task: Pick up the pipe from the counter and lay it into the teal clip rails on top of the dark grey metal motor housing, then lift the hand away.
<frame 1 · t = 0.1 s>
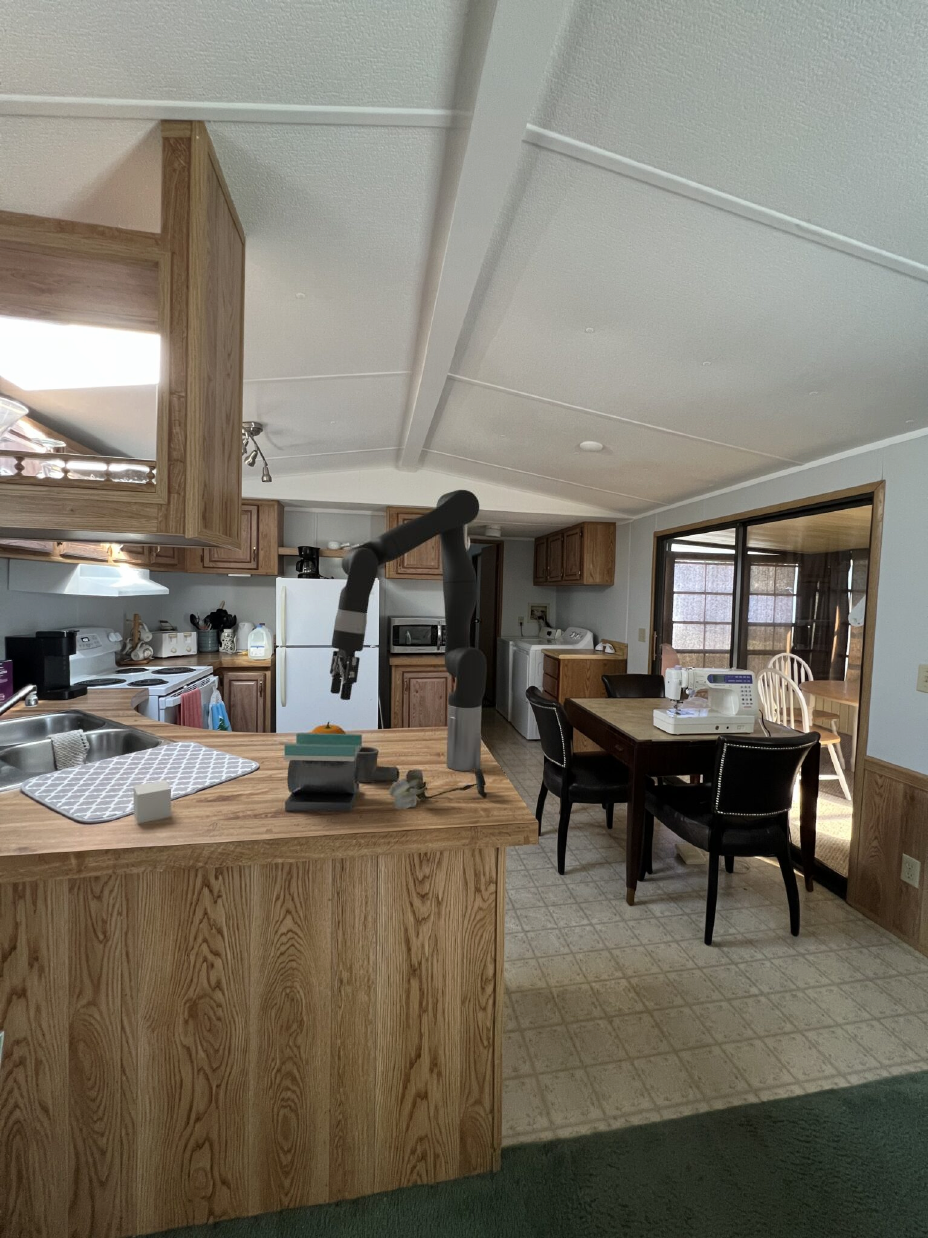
hand: (339, 696, 129), 22 cm above the countertop, tool pointing down, fingers open, 8 cm apart
pipe: (373, 782, 135), on the countertop
motor: (323, 800, 122), on the countertop
fruit: (327, 756, 154), on the countertop
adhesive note: (152, 816, 112), on the countertop
artificial flower: (439, 802, 124), on the countertop
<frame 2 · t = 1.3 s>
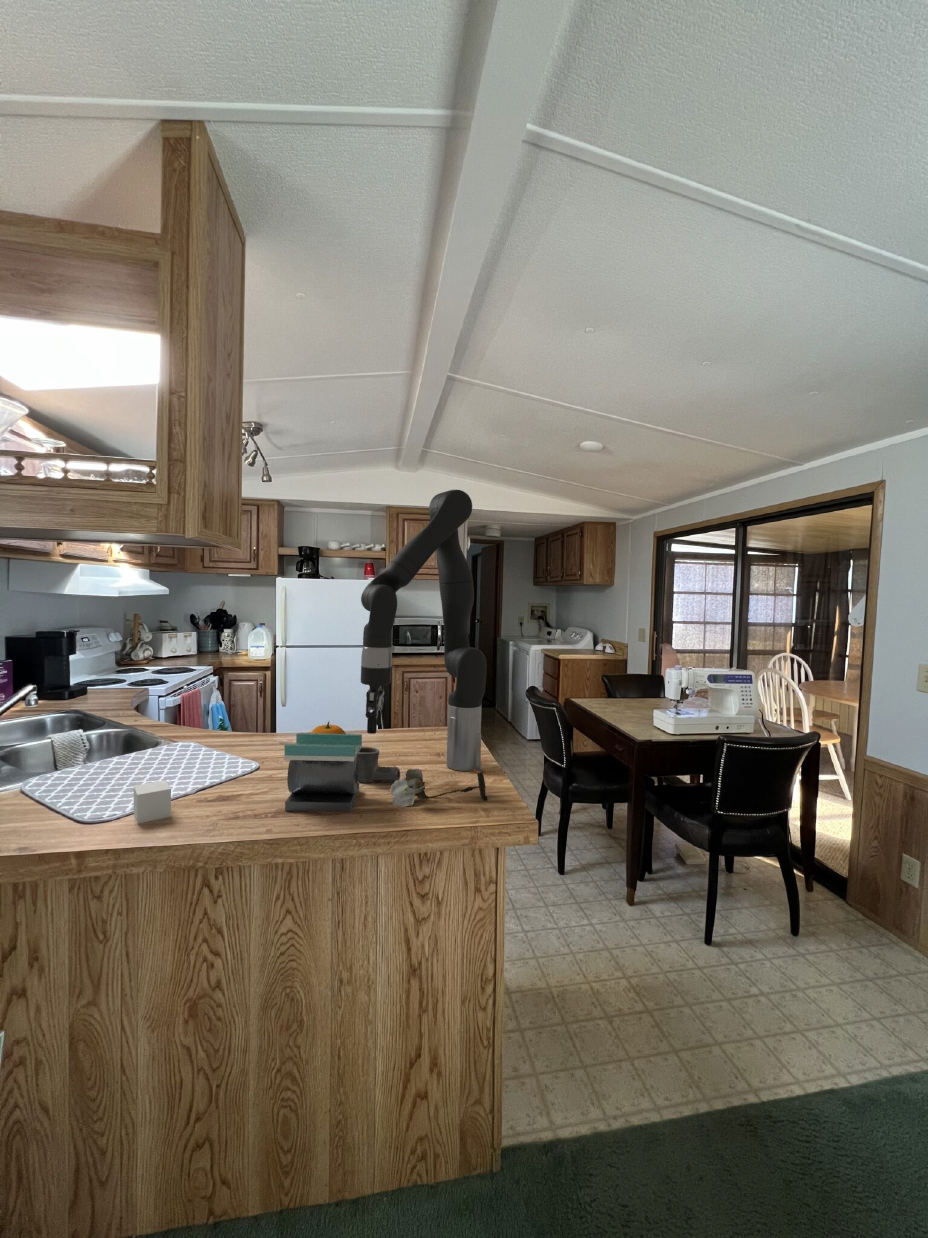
hand: (374, 729, 134), 13 cm above the countertop, tool pointing down, fingers open, 8 cm apart
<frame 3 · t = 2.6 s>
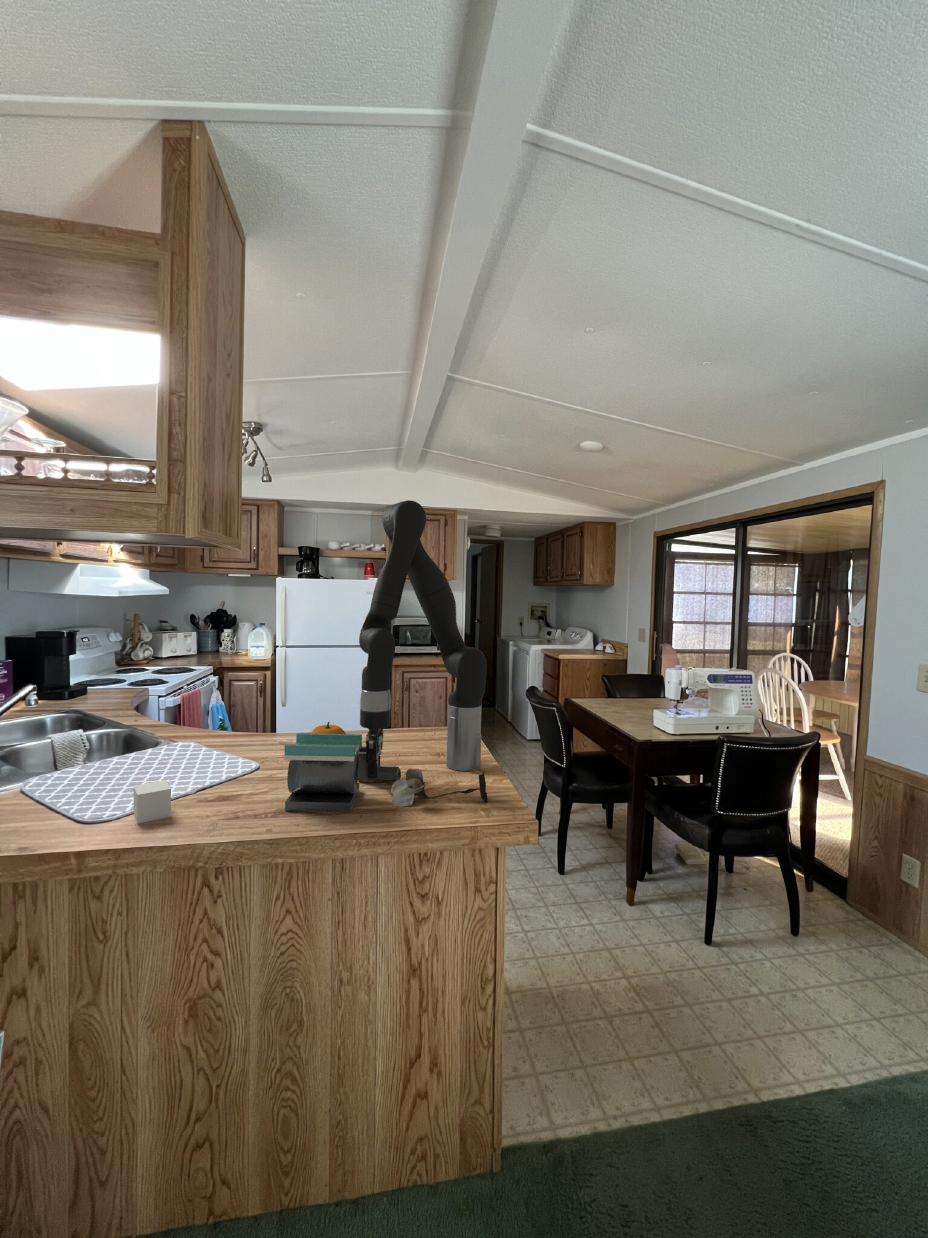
hand: (374, 773, 135), 2 cm above the countertop, tool pointing down, fingers closed on pipe, 5 cm apart
pipe: (375, 782, 135), on the countertop, touching gripper
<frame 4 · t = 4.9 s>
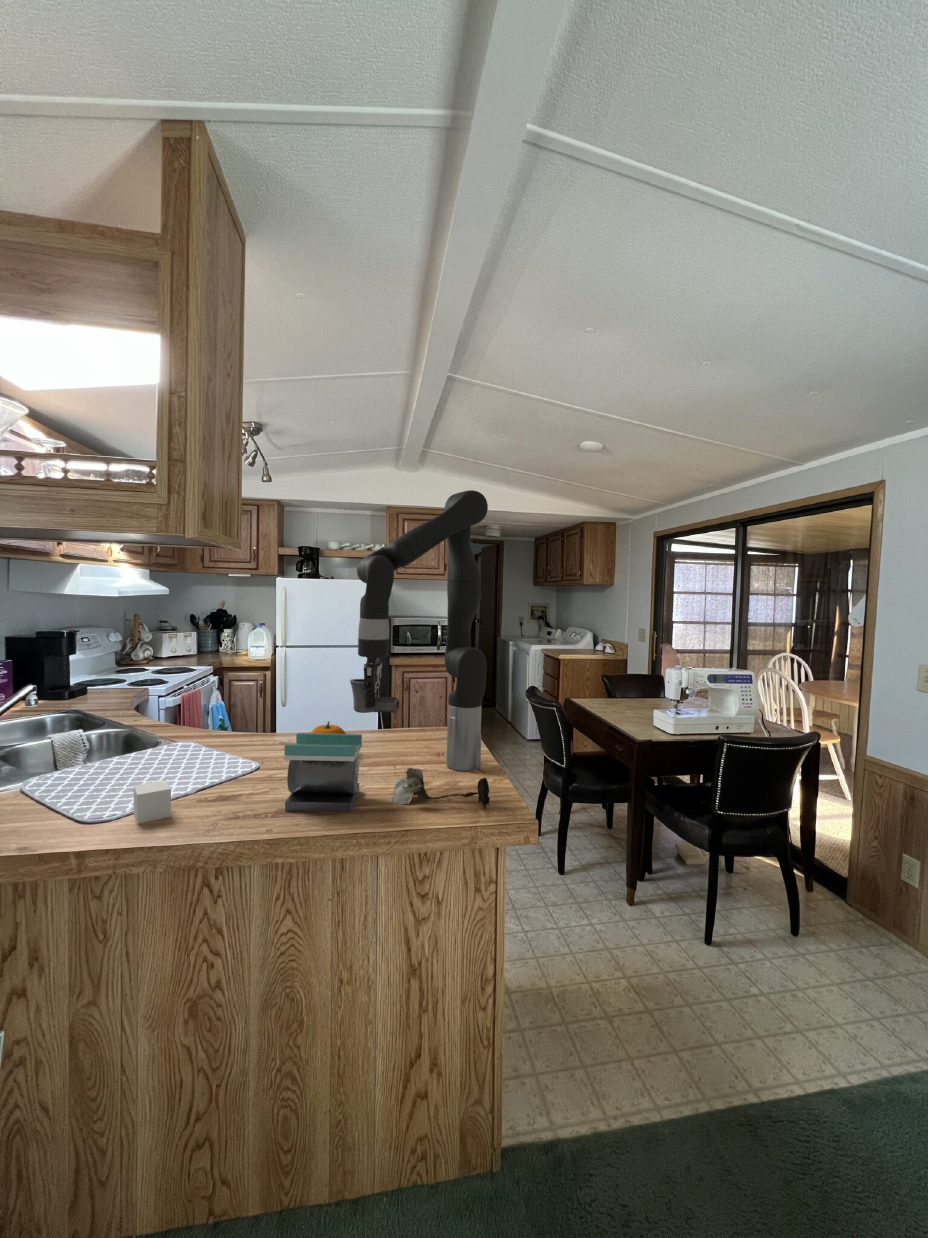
hand: (372, 704, 133), 20 cm above the countertop, tool pointing down, fingers closed on pipe, 5 cm apart
pipe: (373, 713, 133), point 17 cm above the countertop, touching gripper
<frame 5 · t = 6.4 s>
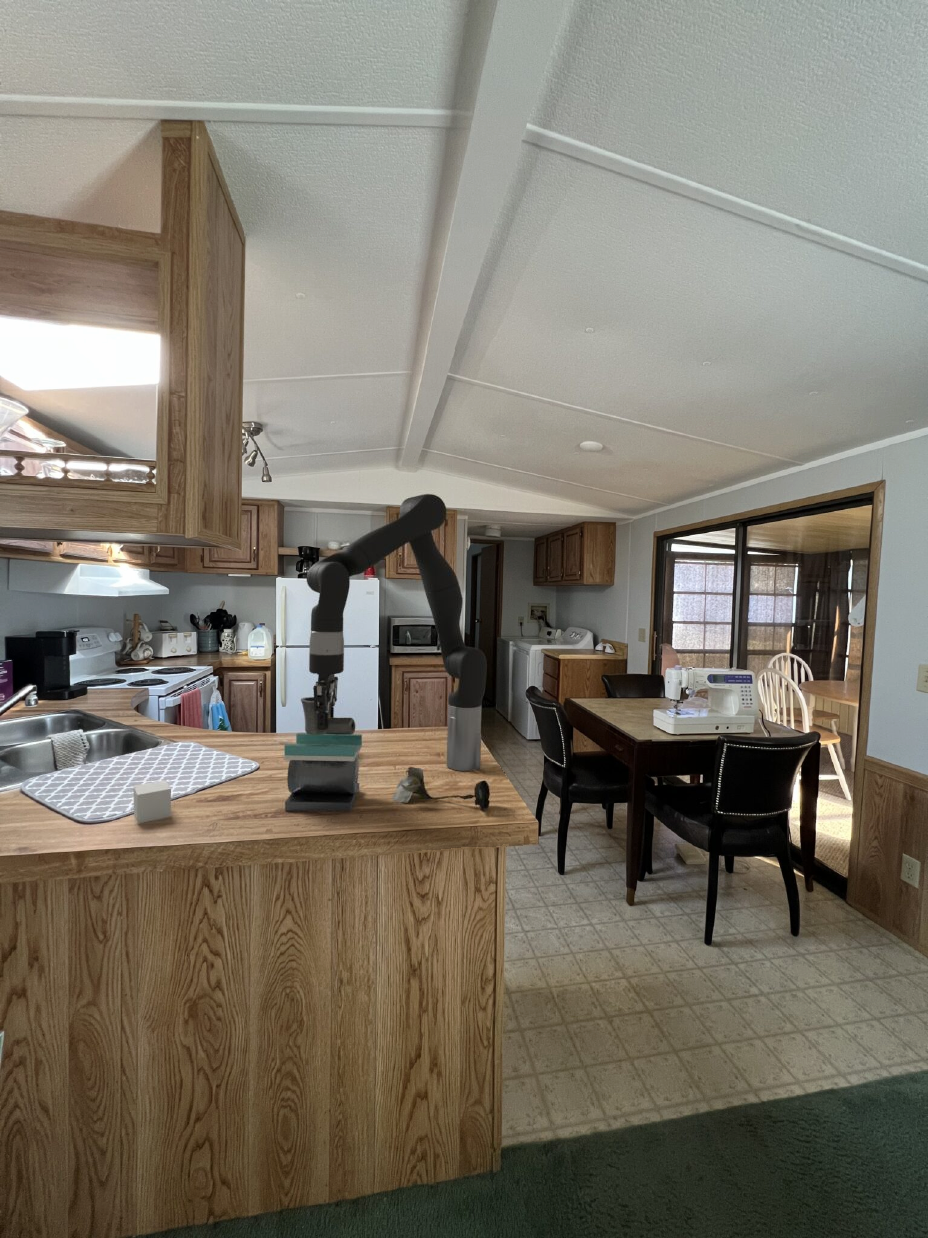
hand: (325, 725, 121), 17 cm above the countertop, tool pointing down, fingers closed on pipe, 5 cm apart
pipe: (326, 735, 121), point 15 cm above the countertop, touching gripper
when the fingers open (15 cm above the countertop, at t = 7.2 s): pipe drops 1 cm, resting on motor.
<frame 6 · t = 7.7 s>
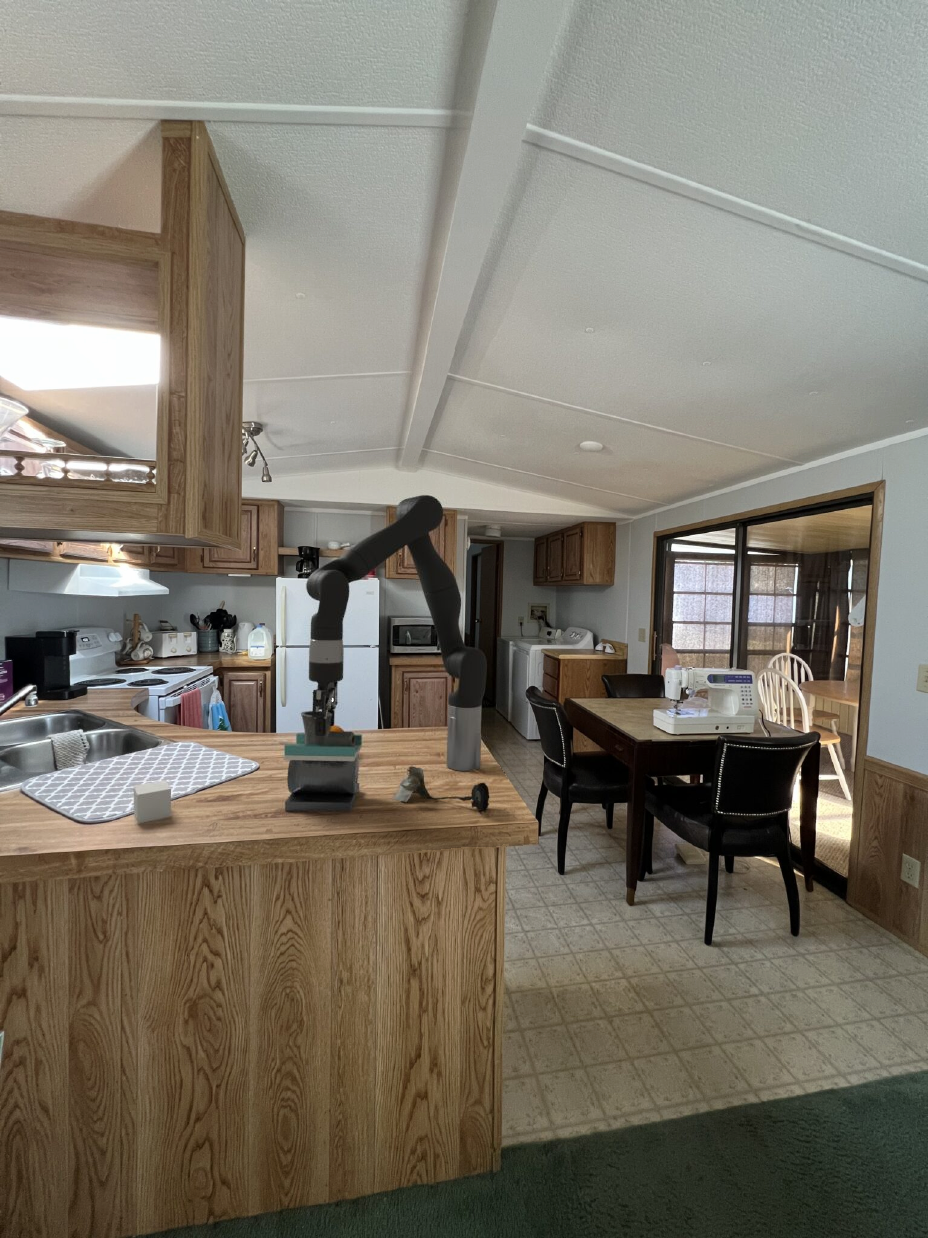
hand: (325, 730, 121), 16 cm above the countertop, tool pointing down, fingers open, 8 cm apart
pipe: (326, 749, 121), point 12 cm above the countertop, touching motor
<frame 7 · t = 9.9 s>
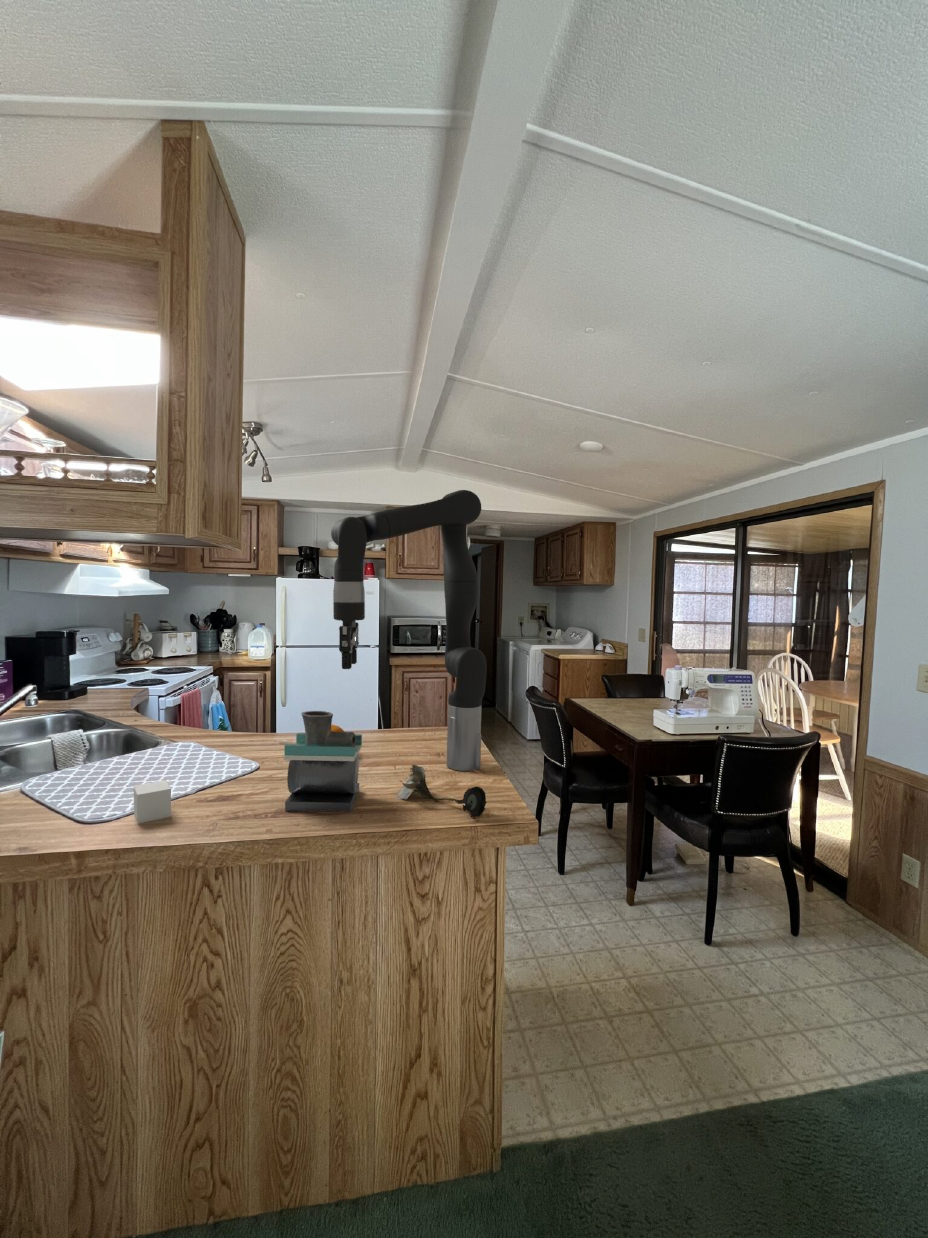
hand: (349, 666, 132), 29 cm above the countertop, tool pointing down, fingers open, 8 cm apart
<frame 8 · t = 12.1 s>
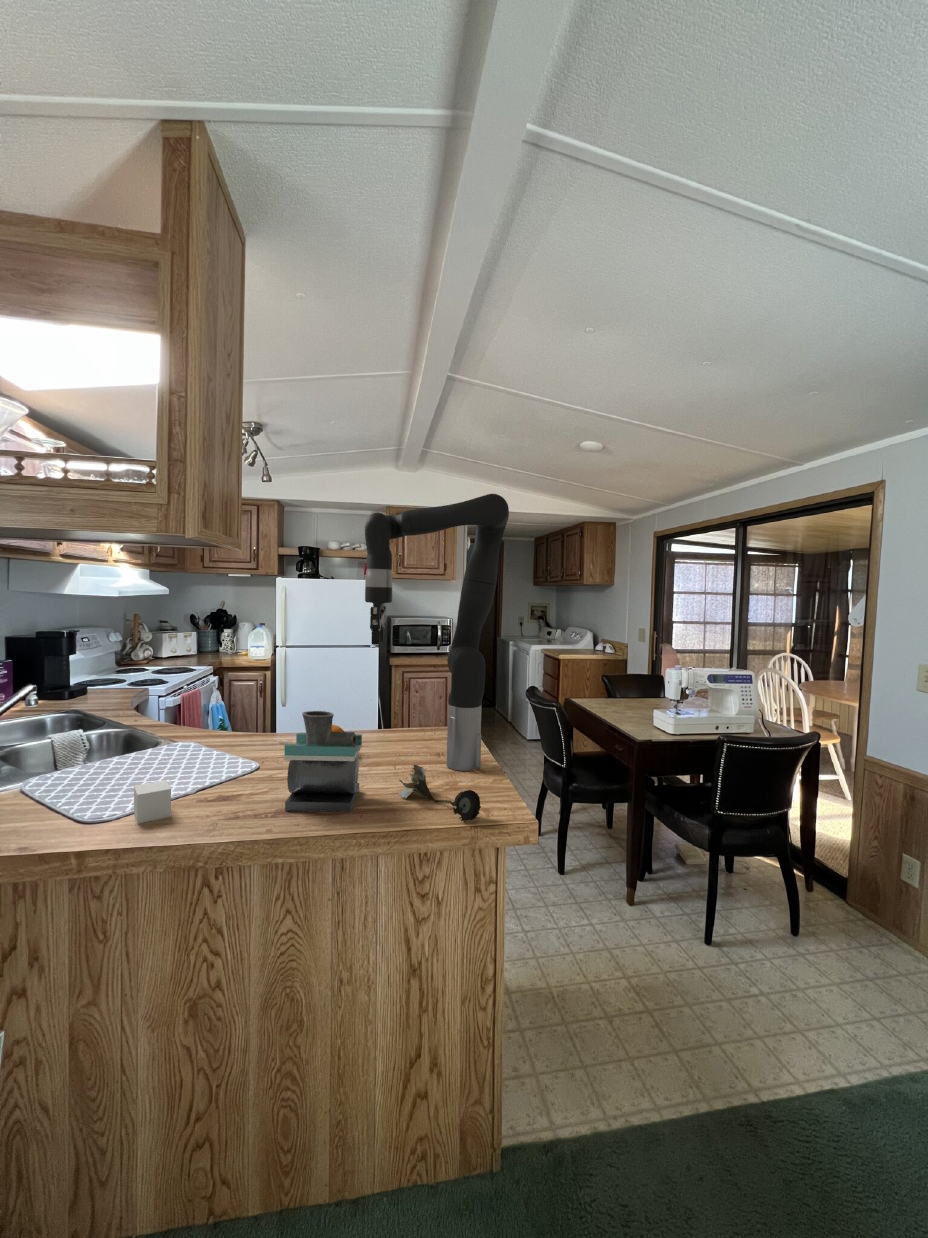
hand: (377, 643, 151), 33 cm above the countertop, tool pointing down, fingers open, 8 cm apart
at the end: pipe 0.7 cm off-centre on the motor, point 11.8 cm above the motor's base; the gripper is holding nothing; pipe tilted 0° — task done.
